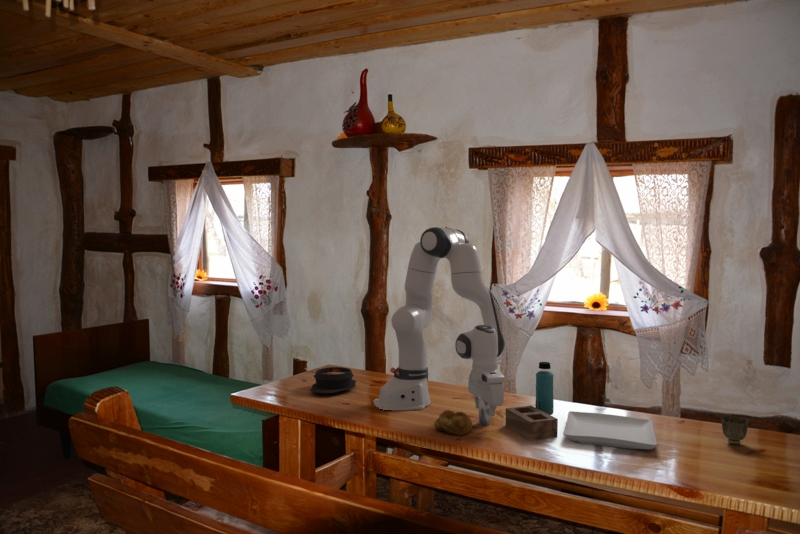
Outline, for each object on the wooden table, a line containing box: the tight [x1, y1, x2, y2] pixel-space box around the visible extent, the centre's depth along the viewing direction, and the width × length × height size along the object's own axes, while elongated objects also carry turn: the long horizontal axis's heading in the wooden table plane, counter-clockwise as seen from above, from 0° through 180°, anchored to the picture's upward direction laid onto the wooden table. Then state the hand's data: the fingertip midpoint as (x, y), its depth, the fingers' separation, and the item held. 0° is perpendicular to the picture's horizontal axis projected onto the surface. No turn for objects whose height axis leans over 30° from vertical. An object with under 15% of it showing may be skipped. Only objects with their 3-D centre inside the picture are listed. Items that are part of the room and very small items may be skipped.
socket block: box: [505, 405, 559, 442], centre depth 191 cm, size 10×16×6 cm, turn 19°
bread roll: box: [433, 409, 473, 436], centre depth 191 cm, size 13×10×8 cm
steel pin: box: [478, 395, 491, 426], centre depth 199 cm, size 4×4×10 cm
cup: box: [720, 415, 749, 446], centre depth 179 cm, size 8×7×8 cm
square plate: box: [563, 410, 658, 451], centre depth 187 cm, size 27×27×4 cm
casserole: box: [309, 366, 357, 395], centre depth 245 cm, size 25×19×8 cm
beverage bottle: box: [534, 361, 555, 416], centre depth 207 cm, size 6×7×20 cm
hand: (484, 412), depth 199 cm, fingers open, 8 cm apart
